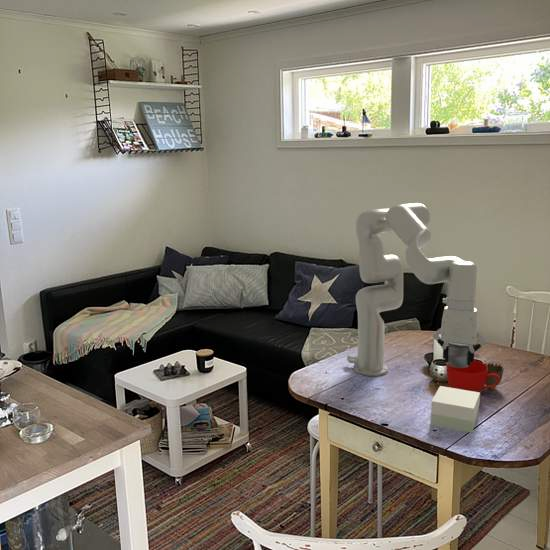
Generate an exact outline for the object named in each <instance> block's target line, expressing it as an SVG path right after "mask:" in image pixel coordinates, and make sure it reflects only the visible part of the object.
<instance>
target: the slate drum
mask: <svg viewBox="0 0 550 550" xmlns="http://www.w3.org/2000/svg"><path fill="white" fill-rule="evenodd" d="M469 351H470V349H469V346H468V345H467V344H459V343H451V342H449V344H448V362H447V363H448V365H449V366H451V367H455V368H465V367H468V353H469Z"/></svg>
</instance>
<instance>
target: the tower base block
mask: <svg viewBox="0 0 550 550" xmlns="http://www.w3.org/2000/svg"><path fill="white" fill-rule="evenodd" d="M479 407H480V406H479ZM479 407H478V410H477V412H476V415H475V418H474V420H473V421H468V420H463V419H458V418H452V417H447V416H442V415H437V414H431V413H430V419H429V420H430V424H429V426H433V427H439V428H446V429H450V430H455V431H461V432H466V433H471V434H473V431H474V429H475V426H476V422H477V420H478V417H479Z"/></svg>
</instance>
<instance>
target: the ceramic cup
mask: <svg viewBox="0 0 550 550" xmlns="http://www.w3.org/2000/svg"><path fill="white" fill-rule="evenodd" d="M487 365H488V364H487ZM487 365H485V363H483V362H481V361H479V360H477V359H476V360H475V359H474V362H473V363H471V365H470V366H468V367H465V368H455V367H451V366H449V365H448V362H447V363H446V378H447V382H448V385H449V388H455V389H461V390H467V391H473V392H479V393H480V394H481V392H482V390H488V389H489V388H493V387H496V388H497V386H499V385H500V384H499V382H500V378H499V376H498V375H497V374H488V375H487V373H488V367H487ZM490 376H495V377H496V378H497V383H496V384H494V385H492V386H485V383H486V380H487V378H488V377H490ZM500 383H501V382H500Z"/></svg>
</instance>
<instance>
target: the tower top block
mask: <svg viewBox="0 0 550 550" xmlns="http://www.w3.org/2000/svg"><path fill="white" fill-rule="evenodd" d="M480 400H481V392H480V393H479V392H473V391H467V390H461V389H455V388H451V387H450V386H449V387H448V386H442V385H440V386H439V387H438V389H437V391H436V393H435V395H434V396H433V398H432V400H431V406H430V407H431V409H430V415H431V414H437V415H442V416H447V417H452V418H458V419H463V420H468V421H473V420H474V418H475V415H476V412H477V410H478V411H479V408H478V407H480Z"/></svg>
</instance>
